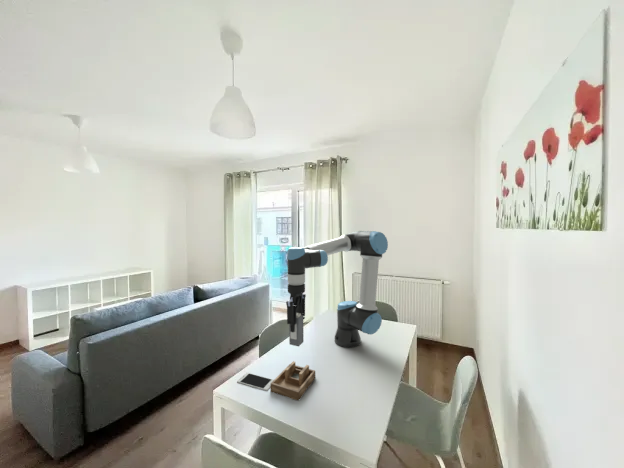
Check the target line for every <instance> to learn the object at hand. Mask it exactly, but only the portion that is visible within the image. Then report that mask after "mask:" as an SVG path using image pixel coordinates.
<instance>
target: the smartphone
mask: <svg viewBox="0 0 624 468" xmlns="http://www.w3.org/2000/svg"><path fill="white" fill-rule="evenodd" d="M273 380H274V379H272V378H270V377H269V378H268V377H264V376H261V375H257V374H253V373H251V372H250V373H249V372H246V373H244V375H242V376H241V377H240V378H239V379H237V381H236V382H237V383H238V384H241V385H244V386H249V387H252V388H255V389H259V390H262V391H265V392H266V391H267V392H268V390H270V389H271V383H272V382H273Z"/></svg>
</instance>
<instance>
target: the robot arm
mask: <svg viewBox="0 0 624 468" xmlns="http://www.w3.org/2000/svg"><path fill="white" fill-rule="evenodd" d="M388 243H389V241H388V238H387V236H386V235H385V233H383V232H381V231H376V230H375V231H373V230H372V231H371V230H370V231H369V230H367V231H365V230H358V231H352V232H349V233H345V234H342V235H340V237H337V238H334V239H329V240H326V241H322V242H318V243H313V244H310V245H307V246H297V247H295V246H293V247H289V248H288V249H287V255H286V259H287V275H286V276H287V283H288V284H287V293H288V294H289V296H290V297H289V300H287V301H286V302H285V304H286V323H287V325H289V324H290V338H291V339H295V340H296V339H297V324H296V315H297V313H301V315H303V320H305V318H306V317H305V316H306V296H307V295H306V294H305V291H306V269H314V268H320V267H324V266H326V265H327V264H328V261H329V257H328V256H329V255H334V254H337V253H340V252H345V253H347V252H353V251H354V252H355V251H356V252H359V253H360V254H359V255H360V257H361V259H362V262H361V274H360V276H361V277H360V286H359V287H360V288H359V299H358V302H357V301H355V300H345V301H341V302H338V304H337V309H336V313H337V314H336V316H337V317H336V318H337V319H336V320H337V328H336V331H335V334H334V343H335V344H336V345H337V346H340V347H343V348H355V347H357V346H359V345H361V343H362V341H361V339H362V338H361V335H360V332H361V333H364V334H367V335H373V334H376V333H377V332H378V331H379V330H380V328H381V326H382V320H383V319H382V316H381V314H379V308H378V307H377V305H376V301H377V300H376V299H377V288H378V287H377V286H378V274H379V262H380V260H381V259H382V258H383V255H384V254H385V253H386V252H387V250H388V247H389V246H388V245H389V244H388ZM359 331H360V332H359Z"/></svg>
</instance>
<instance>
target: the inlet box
mask: <svg viewBox="0 0 624 468" xmlns="http://www.w3.org/2000/svg"><path fill="white" fill-rule="evenodd" d="M315 379H316V370H315V369H311V368H310V365H309V364H306V365H305V366H299V365H296V361H294V360H293V361H291V363H289V364H288V365H287V366H286V367H285V368H284V369H283V370H282V371H281V372H280V373H279V374H278V375H277V377H275V378H274V379H273V382H272V383H271V387H270V393H273V394H276V395H278V396H279V395H280V396H282V397H286V398H287V399H292V400H295V401H300V400H301V398H302V397H303V395H304V394H305V393H306V392H307V390H308V389H309V387H310V386H311V385H312V384H313V382H314V381H315Z"/></svg>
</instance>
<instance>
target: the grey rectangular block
mask: <svg viewBox="0 0 624 468" xmlns="http://www.w3.org/2000/svg"><path fill="white" fill-rule="evenodd" d="M303 317H304V316H303V315H301V313H297V315H296V324H297V339H296V340H295V339H291V338H290V324H288V325H289V328H288V329H289V333H288V335H289V338H288V339H289V346H290V345H291V346H295V347H298V348H299V347H300V346H301V345H303V343H304V319H303Z"/></svg>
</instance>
